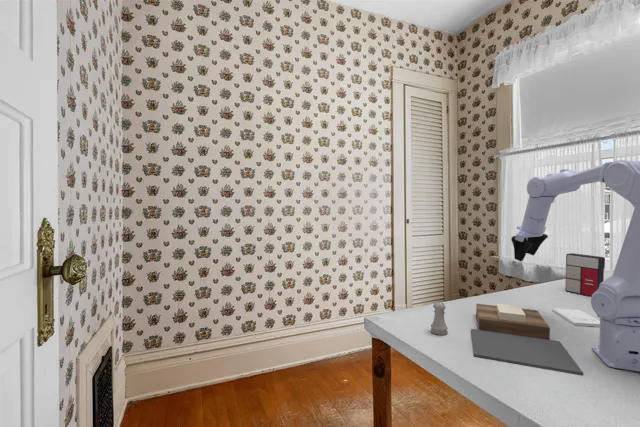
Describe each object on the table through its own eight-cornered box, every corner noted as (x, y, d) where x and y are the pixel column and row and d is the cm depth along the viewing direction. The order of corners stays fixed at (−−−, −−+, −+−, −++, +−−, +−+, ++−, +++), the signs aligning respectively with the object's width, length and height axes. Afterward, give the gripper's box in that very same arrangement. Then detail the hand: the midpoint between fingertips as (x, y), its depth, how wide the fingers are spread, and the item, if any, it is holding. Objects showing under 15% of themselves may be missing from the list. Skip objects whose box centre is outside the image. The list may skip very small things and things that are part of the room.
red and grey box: (564, 291, 125) (564, 253, 125) (570, 290, 127) (571, 253, 126) (597, 298, 115) (598, 258, 115) (604, 297, 117) (605, 257, 116)
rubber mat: (583, 375, 64) (583, 372, 64) (473, 356, 72) (473, 354, 72) (559, 343, 79) (559, 341, 79) (471, 330, 87) (471, 328, 87)
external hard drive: (580, 314, 100) (608, 330, 88) (551, 313, 102) (574, 327, 90) (580, 309, 100) (608, 324, 88) (552, 308, 102) (574, 322, 90)
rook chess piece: (437, 336, 83) (437, 306, 83) (427, 329, 87) (427, 301, 87) (451, 334, 84) (451, 304, 84) (440, 328, 88) (441, 300, 88)
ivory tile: (525, 322, 83) (525, 315, 83) (499, 319, 85) (499, 312, 85) (519, 312, 90) (520, 306, 90) (496, 310, 93) (496, 303, 93)
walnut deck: (549, 341, 80) (549, 327, 80) (479, 331, 86) (479, 318, 86) (536, 322, 93) (537, 310, 93) (476, 314, 99) (476, 303, 99)
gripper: (532, 209, 102) (522, 246, 107) (509, 216, 94) (499, 257, 99) (557, 215, 96) (545, 255, 101) (535, 224, 89) (523, 266, 93)
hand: (524, 256), depth 100 cm, fingers open, 7 cm apart
